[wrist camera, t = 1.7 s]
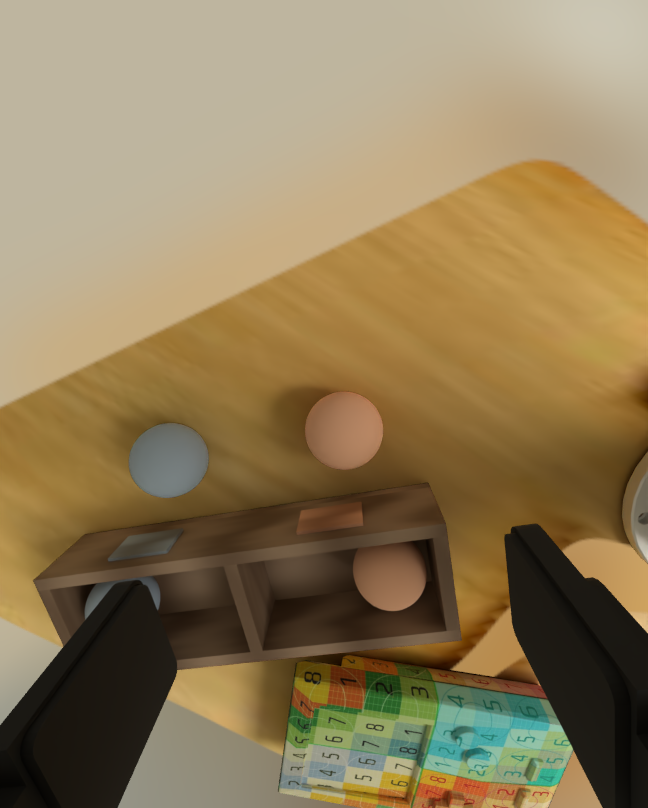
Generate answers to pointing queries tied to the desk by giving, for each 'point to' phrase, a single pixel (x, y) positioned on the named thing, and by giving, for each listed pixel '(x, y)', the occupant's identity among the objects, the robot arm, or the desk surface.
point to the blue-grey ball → (104, 587)
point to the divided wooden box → (268, 578)
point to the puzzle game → (419, 738)
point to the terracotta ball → (344, 430)
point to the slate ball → (168, 460)
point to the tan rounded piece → (390, 574)
